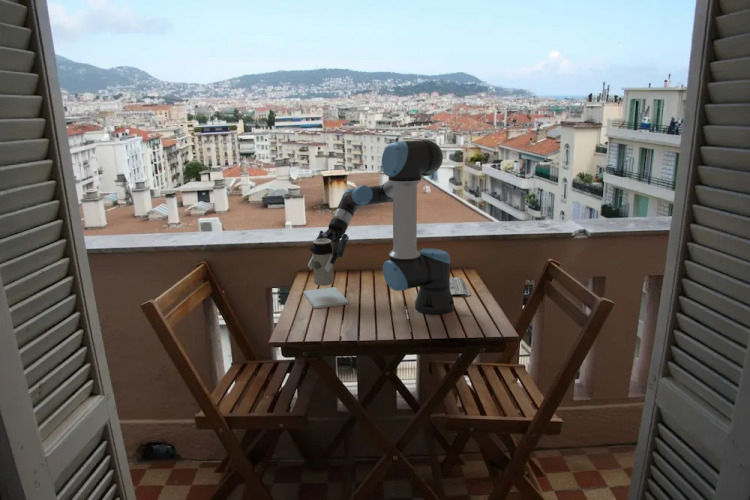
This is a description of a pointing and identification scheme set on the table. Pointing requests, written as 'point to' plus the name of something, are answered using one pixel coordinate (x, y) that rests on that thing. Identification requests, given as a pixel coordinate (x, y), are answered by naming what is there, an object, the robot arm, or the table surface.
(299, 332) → the table surface
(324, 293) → the placemat
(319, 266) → the travel mug
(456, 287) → the newspaper
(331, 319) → the table surface
